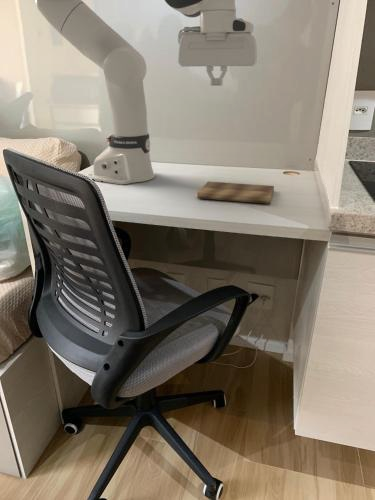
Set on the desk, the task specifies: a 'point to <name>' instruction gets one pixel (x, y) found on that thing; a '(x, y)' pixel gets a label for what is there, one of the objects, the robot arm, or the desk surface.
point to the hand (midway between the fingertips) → (216, 85)
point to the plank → (235, 195)
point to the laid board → (240, 186)
